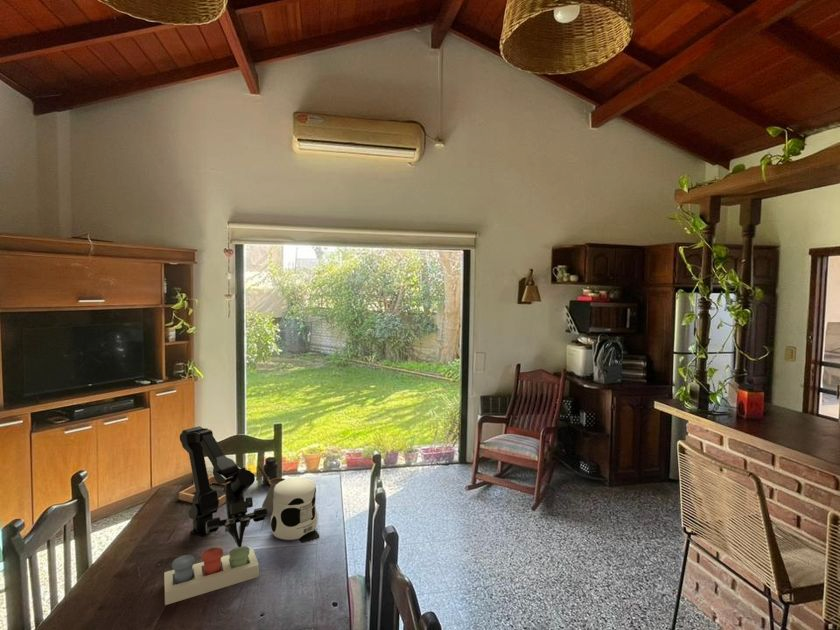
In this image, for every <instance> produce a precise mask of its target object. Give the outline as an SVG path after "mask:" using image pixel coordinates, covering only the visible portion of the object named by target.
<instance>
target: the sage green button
mask: <svg viewBox="0 0 840 630" xmlns="http://www.w3.org/2000/svg"><path fill="white" fill-rule="evenodd" d="M249 549H250V547H248V546H245V545H241V547H238V546H236V547H233V548H232V549H231V550H230V551H229V555H230V559H232V560H231V569H232V568H236V567H239V566H242V565H246V564H247V556H248V555H249Z"/></svg>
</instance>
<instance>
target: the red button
mask: <svg viewBox="0 0 840 630" xmlns="http://www.w3.org/2000/svg"><path fill="white" fill-rule="evenodd" d="M223 556H224V550H223V549H222V548H221V547H211V548H208V549H206V550H205V551H203V552H202V554H201V561H202V562H204V575H205V576H208V575H211V574H215V573H218V572H220V571H221V557H223Z"/></svg>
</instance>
